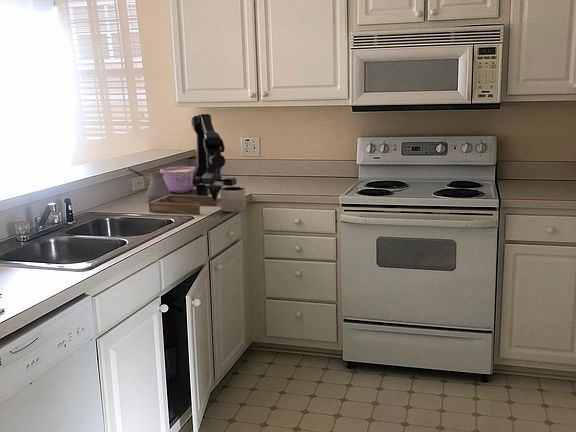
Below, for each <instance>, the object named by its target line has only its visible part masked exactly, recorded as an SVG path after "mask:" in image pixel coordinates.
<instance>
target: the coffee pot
mask: <svg viewBox="0 0 576 432" xmlns="http://www.w3.org/2000/svg"><path fill="white" fill-rule="evenodd" d="M126 172H127V173H129V172H132V173H134V174H136V175H139V176H141V177H144V178H146V179H147V180H149V181H150V183H149V186H148V189H147V191H146V193H145V195H146V197H147V199H149V201H150V202H152V201H155V200H157V199H160V198H162V197H165V196H168V195H172V193H171V190H169V189H168V187H167V185H166V183H165V181H164V179H163V174H164V173H161V172H160V171H159V172H151V173H150V176H151V177H149V176H147V175H145V174H143V173H141V172H140V171H137V170H134V169H132V168H129V167H128V169H127V170H126Z"/></svg>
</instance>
